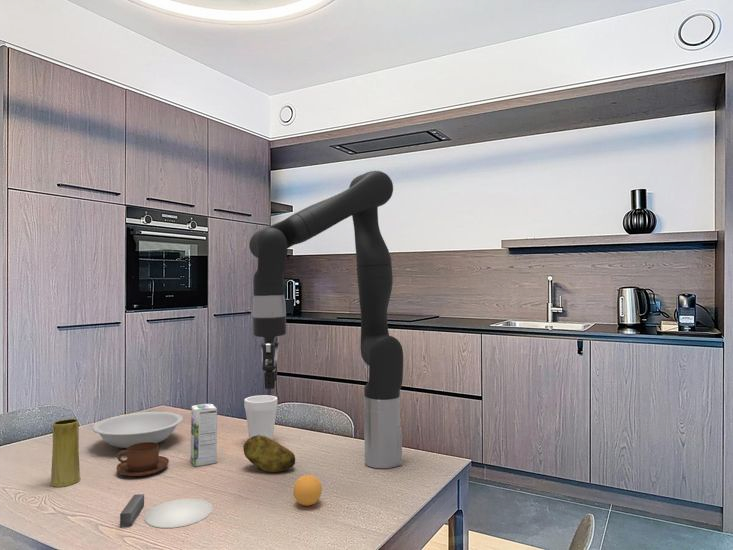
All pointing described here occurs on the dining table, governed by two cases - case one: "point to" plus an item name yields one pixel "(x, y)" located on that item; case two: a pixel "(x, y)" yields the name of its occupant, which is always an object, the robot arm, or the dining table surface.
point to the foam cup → (261, 415)
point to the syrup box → (203, 434)
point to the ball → (307, 490)
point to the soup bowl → (137, 428)
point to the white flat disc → (178, 513)
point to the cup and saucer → (141, 460)
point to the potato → (268, 454)
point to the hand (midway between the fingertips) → (270, 384)
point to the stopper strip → (131, 510)
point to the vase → (65, 453)
